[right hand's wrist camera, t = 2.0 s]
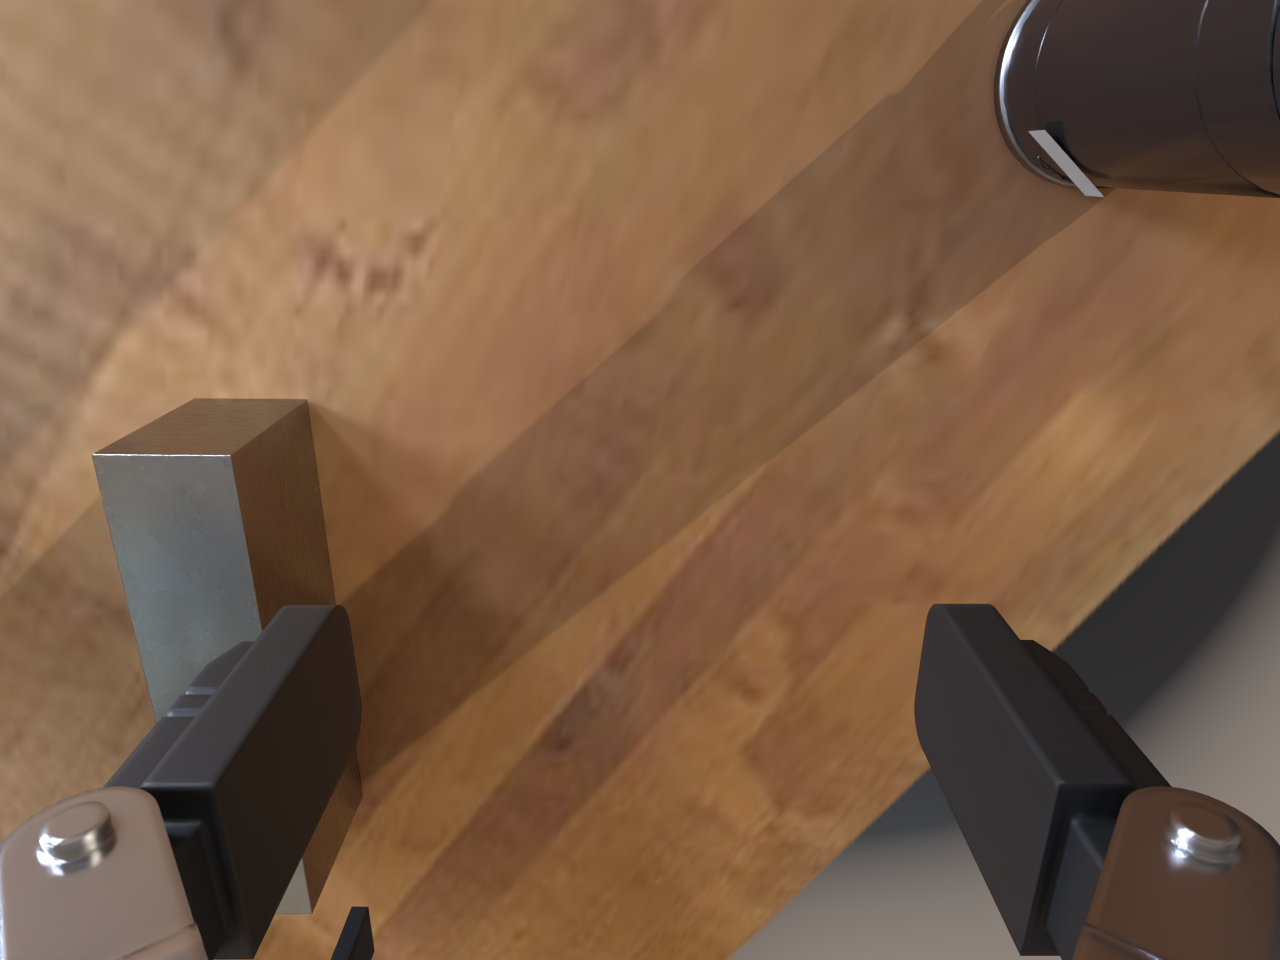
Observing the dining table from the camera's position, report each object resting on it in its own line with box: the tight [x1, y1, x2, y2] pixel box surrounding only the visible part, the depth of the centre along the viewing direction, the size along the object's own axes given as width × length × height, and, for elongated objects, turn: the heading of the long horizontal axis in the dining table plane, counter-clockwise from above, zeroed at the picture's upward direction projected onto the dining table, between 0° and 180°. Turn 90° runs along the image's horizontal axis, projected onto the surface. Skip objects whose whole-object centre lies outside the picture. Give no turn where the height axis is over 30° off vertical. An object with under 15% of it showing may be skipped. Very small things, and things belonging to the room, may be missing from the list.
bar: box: [92, 399, 362, 914], centre depth 43 cm, size 25×6×8 cm, turn 179°
